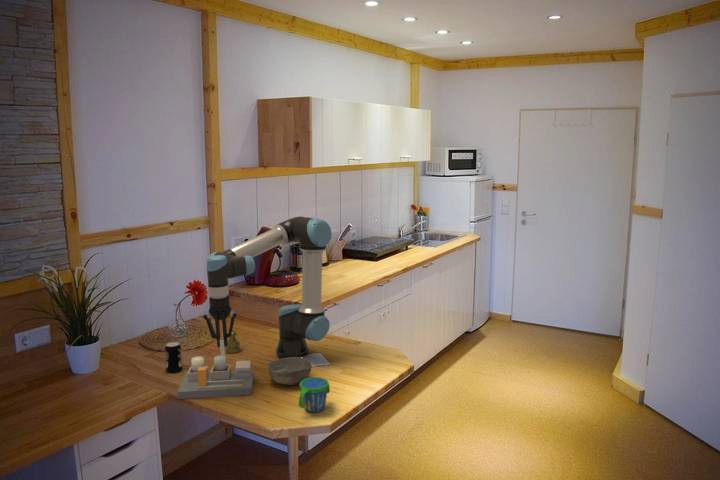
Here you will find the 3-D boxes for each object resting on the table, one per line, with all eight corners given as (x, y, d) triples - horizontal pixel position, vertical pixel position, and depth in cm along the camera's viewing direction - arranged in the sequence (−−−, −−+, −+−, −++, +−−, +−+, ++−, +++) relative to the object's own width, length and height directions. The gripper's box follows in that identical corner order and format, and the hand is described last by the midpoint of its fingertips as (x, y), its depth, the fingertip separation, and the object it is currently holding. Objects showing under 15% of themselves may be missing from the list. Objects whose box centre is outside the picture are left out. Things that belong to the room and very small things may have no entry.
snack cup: (309, 420, 202) (309, 393, 200) (289, 412, 209) (288, 385, 207) (339, 405, 214) (339, 379, 212) (319, 397, 221) (318, 372, 219)
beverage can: (177, 373, 245) (175, 347, 243) (163, 372, 246) (161, 346, 244) (185, 368, 251) (183, 341, 249) (171, 367, 252) (169, 340, 250)
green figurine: (243, 351, 271) (242, 331, 269) (228, 354, 267) (227, 334, 265) (237, 347, 277) (236, 327, 275) (222, 350, 273) (221, 330, 271)
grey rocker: (250, 363, 237) (250, 360, 237) (249, 370, 233) (249, 367, 232) (236, 364, 237) (236, 361, 236) (235, 371, 232) (235, 368, 232)
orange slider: (207, 383, 226) (206, 367, 225) (206, 387, 223) (205, 369, 222) (199, 384, 226) (198, 367, 225) (198, 387, 223) (197, 370, 222)
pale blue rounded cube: (227, 366, 236) (226, 354, 235) (226, 371, 231) (225, 359, 231) (215, 367, 236) (214, 355, 235) (213, 371, 231) (213, 359, 230)
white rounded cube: (204, 367, 235) (204, 356, 234) (203, 372, 230) (202, 360, 230) (192, 368, 235) (192, 356, 234) (190, 372, 230) (190, 361, 229)
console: (254, 376, 241) (253, 362, 240) (251, 395, 223) (250, 379, 222) (185, 380, 238) (185, 365, 237) (177, 399, 220) (176, 383, 219)
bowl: (294, 370, 248) (293, 352, 247) (320, 381, 236) (320, 363, 234) (259, 382, 236) (259, 363, 234) (285, 394, 223) (285, 375, 222)
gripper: (237, 292, 224) (240, 349, 228) (203, 294, 222) (207, 351, 227) (235, 297, 217) (239, 356, 221) (200, 299, 215) (204, 359, 219)
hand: (223, 354), depth 224 cm, fingers closed
